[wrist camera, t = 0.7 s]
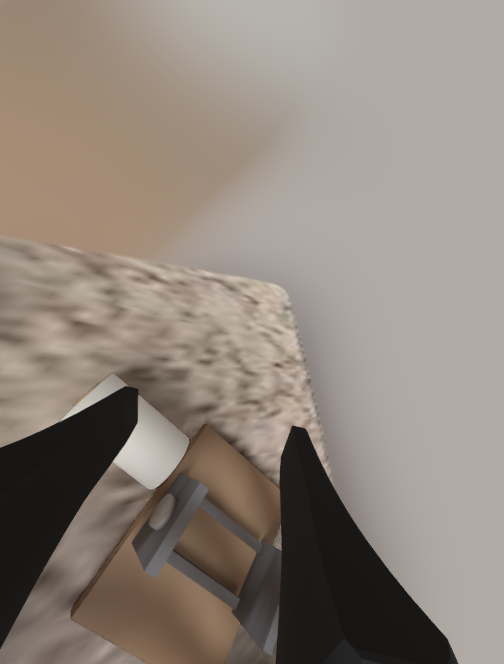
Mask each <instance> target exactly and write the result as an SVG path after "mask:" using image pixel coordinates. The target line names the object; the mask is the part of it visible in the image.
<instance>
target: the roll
mask: <svg viewBox="0 0 504 664" xmlns="http://www.w3.org/2000/svg"><path fill="white" fill-rule="evenodd" d="M125 386H128V385H127V384H125V383H124V382H123V381H122V380H121V379H120V378H119V377H117V376H116V375H115V374H114V373H112V374H111V375H110V376H109V377H107V378H106V379H105V380H104V381H103V382H101V383H100V384H99V383H98V384H97V385H95V386H94V387H93V388H92V389H91V390H89V391H88V392H87V393H86V394H85V395H84V396H83V397H82V398H81V399H79V400H78V401H77V402H76V403H75V404H74V405H73V406H74V408H73V409H72V410H70V411H69V412H68V413H67V414H66V415H65V416H64V417H63V418H62V419H61V420H60V421H62V420H64V419H66V418H68V417H70V416H72V415H74V414H76V413H78V412H80V411H82V410H84V409H85V408H87V407H89V406H91V405H93V404H94V403H96V402H98V401H100V400H101V399H103V398H105V397H107V396H109V395H110V394H112V393H114V392H116V391H117V390H119V389H121V388H123V387H125ZM128 387H129V386H128ZM188 444H189V438H188V437H187V436H186V435H185V434H184V433H182V432H181V431H180V430H179V429H178V428H177V427H175V426H174V425H173V424H172V423H171V422H170V421H168V420H167V419H166V418H165V417H164V416H163V415H161V414H160V413H159V412H158V411H157V410H156V409H155V408H153V407H152V406H151V405H150V404H149V403H148V402H146V401H145V400H144V399H143V398H142V397H141V396H139V395H138V423H137V425H136V427H135V428H134V430H133V432H132V434H131V436H130V437H129V439H128V441H127V442H126V444H125V445H124V447H123V448H122V450H121V451H120V452H119V454H118V455H117V456H116V458H115V459H114V461H113V463H115V464H116V465H117V466H119V467H120V468H121V469H122V470H124V471H125V472H126V473H128V474H129V475H130V476H132V477H133V478H134V479H136V480H137V481H138V482H139V483H141V484H142V485H143V486H145V487H146V488H147V489H149V490H152V489H154V488H156V487H158V486H159V485H160V484H161V483H163V482H164V481H165V480H166V479H167V478H168V476H169V475H170V474H171V473H172V472H173V471H174V469H175V468H176V467H177V465H178V464H179V462H180V461H181V459H182V458H183V456H184V454H185V452H186V450H187V447H188Z"/></svg>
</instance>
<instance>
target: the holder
mask: <svg viewBox="0 0 504 664" xmlns="http://www.w3.org/2000/svg"><path fill="white" fill-rule="evenodd" d="M280 524H281V509H280V489H279V488H278V487H277V486H276V485H274V484H273V483H272V482H271V481H270V480H269V479H268V478H267V477H266V476H264V475H263V474H262V473H261V472H260V471H259V470H258V469H257V468H256V467H254V466H253V465H252V464H251V463H250V462H249V461H248V460H247V459H246V458H244V457H243V456H242V455H241V454H240V453H239V452H238V451H237V450H235V449H234V448H233V447H232V446H231V445H230V444H229V443H228V442H227V441H225V440H224V439H223V438H222V437H221V436H220V435H219V434H218V433H217V432H215V431H214V430H213V429H212V428H211V427H210V426H209V425H208V424H204V425H203V426H202V428H201V429H200V431H199V432H198V433H197V435H196V436H195V438H194V439H193V440H192V442H191V443H190V445H189V446H188V447H187V450H186V452H185V454H184V456H183V458H182V459H181V461H180V462H179V464H178V465H177V467H176V468H175V469H174V471H173V472H172V473H171V474H170V475H169V476H168V478H167V479H166V480H165V481H164V482H163V483H162V484H161V485H160V487H159V488H158V489H157V491H156V492H155V494H154V495H153V496H152V498H151V499H150V501H149V502H148V503H147V505H146V506H145V508H144V509H143V510H142V512H141V513H140V515H139V516H138V517H137V519H136V520H135V522H134V523H133V524H132V526H131V527H130V529H129V530H128V531H127V533H126V534H125V536H124V537H123V538H122V540H121V541H120V543H119V544H118V545H117V547H116V548H115V550H114V551H113V552H112V554H111V555H110V557H109V558H108V559H107V561H106V562H105V564H104V565H103V566H102V568H101V569H100V571H99V572H98V573H97V575H96V576H95V578H94V579H93V580H92V582H91V583H90V585H89V586H88V587H87V589H86V590H85V592H84V593H83V594H82V596H81V597H80V599H79V600H78V601H77V603H76V604H75V606H74V607H73V608H72V610H71V620H73V621H74V622H76V623H78V624H80V625H81V626H83V627H85V628H87V629H88V630H90V631H92V632H94V633H95V634H97V635H99V636H101V637H102V638H104V639H106V640H108V641H109V642H111V643H113V644H115V645H116V646H118V647H120V648H122V649H124V650H125V651H127V652H129V653H131V654H132V655H134V656H136V657H138V658H139V659H141V660H143V661H145V662H146V663H148V664H225V662H226V659H227V657H228V654H229V652H230V649H231V647H232V644H233V642H234V639H235V637H236V634H237V632H238V629H239V627H240V624H242V626H243V627H244V628H245V629H246V631H247V632H248V633H249V634H250V635H251V637H252V638H253V639H254V640H255V642H256V643H257V644H258V645H259V647H260V648H261V649H262V650H263V651H264V652H266V653H267V654H269V655H270V656H272V653H273V650H274V647H275V644H276V641H277V635H278V619H279V601H280V582H281V558H282V551H280V550H278V549H277V548H275V547H274V546H272V544H273V542H274V539H275V537H276V534H277V532H278V529H279V527H280Z"/></svg>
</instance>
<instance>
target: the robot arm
mask: <svg viewBox="0 0 504 664" xmlns="http://www.w3.org/2000/svg"><path fill="white" fill-rule="evenodd" d="M137 423H138V389H136V388H132V387H128V386H125V387H123V388H121V389H119V390H117V391H116V392H114V393H112V394H110V395H109V396H107V397H105V398H103V399H101V400H100V401H98V402H96V403H94V404H93V405H91V406H89V407H87V408H85V409H84V410H82V411H80V412H78V413H76V414H74V415H72V416H70V417H68V418H66V419H64V420H62V421H60V422H58V423H56V424H54V425H52V426H50V427H48V428H46V429H44V430H42V431H40V432H37V433H35V434H33V435H31V436H28V437H26V438H24V439H21V440H19V441H17V442H14V443H12V444H9V445H6V446H4V447H1V448H0V649H1V647H2V645H3V643H4V641H5V639H6V637H7V635H8V633H9V631H10V630H11V628H12V626H13V624H14V622H15V620H16V618H17V617H18V615H19V613H20V611H21V609H22V607H23V605H24V603H25V602H26V600H27V598H28V596H29V594H30V592H31V591H32V589H33V587H34V585H35V583H36V582H37V580H38V578H39V576H40V575H41V573H42V571H43V569H44V567H45V566H46V564H47V562H48V560H49V559H50V557H51V555H52V553H53V552H54V550H55V548H56V547H57V545H58V543H59V542H60V540H61V538H62V536H63V535H64V533H65V531H66V530H67V528H68V526H69V525H70V523H71V522H72V520H73V518H74V517H75V515H76V513H77V512H78V510H79V509H80V507H81V505H82V504H83V502H84V501H85V499H86V498H87V496H88V495H89V493H90V492H91V490H92V489H93V488H94V486H95V485H96V484H97V482H98V481H99V480H100V478H101V477H102V476H103V474H104V473H105V471H106V470H107V469H108V467H109V466H110V465H111V463H112V462H113V461H114V459H115V458H116V456H117V455H118V454H119V452H120V451H121V450H122V448H123V447H124V445H125V444H126V442H127V441H128V439H129V437H130V436H131V434H132V432H133V430H134V428H135V427H136V425H137ZM280 509H281V534H282V558H281V582H280V601H279V619H278V635H277V651H276V664H458V662H457V659H456V657H455V655H454V653H453V651H452V648H451V646H450V644H449V642H448V639H447V638H446V637H445V636H444V635H443V634H442V632H441V631H440V630H439V629H438V628H437V627H436V626H435V624H434V623H433V622H432V621H431V620H430V619H429V618H428V616H427V615H426V614H425V613H424V612H423V611H422V610H421V608H420V607H419V606H418V605H417V604H416V603H415V602H414V601H413V599H412V598H411V597H410V596H409V595H408V594H407V592H406V591H405V590H404V588H403V587H402V586H401V585H400V584H399V582H398V581H397V580H396V579H395V577H394V576H393V575H392V574H391V572H390V571H389V570H388V568H387V567H386V566H385V565H384V563H383V562H382V560H381V559H380V558H379V556H378V555H377V554H376V552H375V551H374V550H373V548H372V547H371V546H370V544H369V543H368V541H367V540H366V539H365V537H364V536H363V534H362V533H361V531H360V530H359V529H358V527H357V526H356V524H355V522H354V521H353V519H352V518H351V516H350V515H349V513H348V511H347V510H346V508H345V506H344V505H343V503H342V501H341V500H340V498H339V496H338V494H337V493H336V491H335V489H334V487H333V485H332V483H331V481H330V480H329V478H328V476H327V474H326V472H325V470H324V468H323V466H322V464H321V462H320V460H319V457H318V455H317V453H316V451H315V449H314V446H313V444H312V442H311V439H310V437H309V435H308V432H307V430H306V429H305V428H301V427H296V426H292V428H291V430H290V433H289V436H288V439H287V442H286V444H285V447H284V450H283V453H282V456H281V465H280Z"/></svg>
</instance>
